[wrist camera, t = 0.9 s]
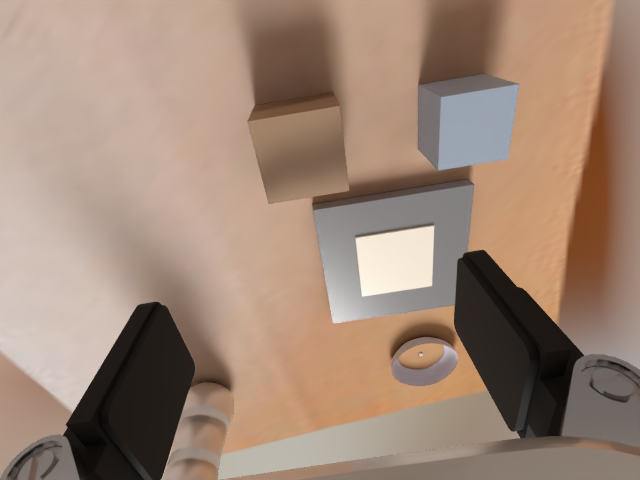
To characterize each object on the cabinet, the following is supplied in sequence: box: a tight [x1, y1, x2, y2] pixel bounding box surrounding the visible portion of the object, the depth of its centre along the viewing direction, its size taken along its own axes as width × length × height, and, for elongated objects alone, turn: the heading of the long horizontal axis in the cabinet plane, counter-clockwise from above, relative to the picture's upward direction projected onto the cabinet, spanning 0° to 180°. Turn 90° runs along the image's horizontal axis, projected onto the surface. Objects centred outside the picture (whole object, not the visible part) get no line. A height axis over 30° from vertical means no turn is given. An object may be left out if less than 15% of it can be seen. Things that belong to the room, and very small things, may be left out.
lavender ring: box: [391, 337, 458, 386], centre depth 43 cm, size 8×8×2 cm
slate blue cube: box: [418, 74, 519, 170], centre depth 26 cm, size 5×5×5 cm
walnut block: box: [248, 92, 349, 204], centre depth 26 cm, size 6×6×5 cm
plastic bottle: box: [162, 382, 234, 480], centre depth 36 cm, size 6×7×20 cm
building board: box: [312, 179, 474, 324], centre depth 34 cm, size 14×14×1 cm
